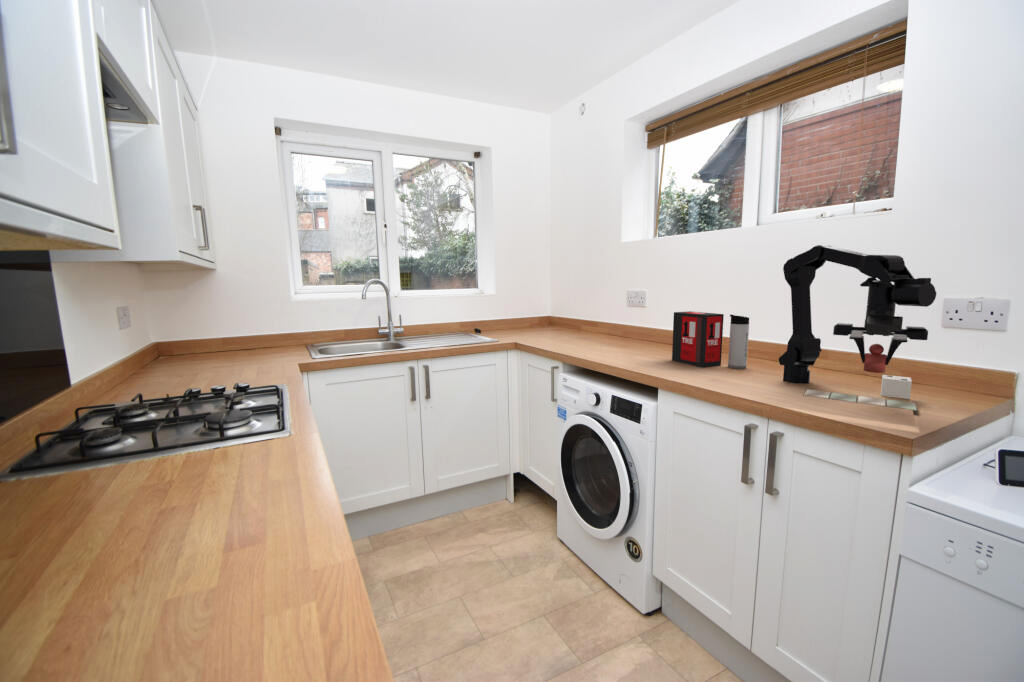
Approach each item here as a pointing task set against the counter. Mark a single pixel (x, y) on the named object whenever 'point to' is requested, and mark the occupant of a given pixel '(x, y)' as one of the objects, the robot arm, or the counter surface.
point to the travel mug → (738, 342)
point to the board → (863, 400)
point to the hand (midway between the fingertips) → (874, 363)
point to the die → (896, 386)
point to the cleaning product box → (697, 338)
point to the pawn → (875, 359)
